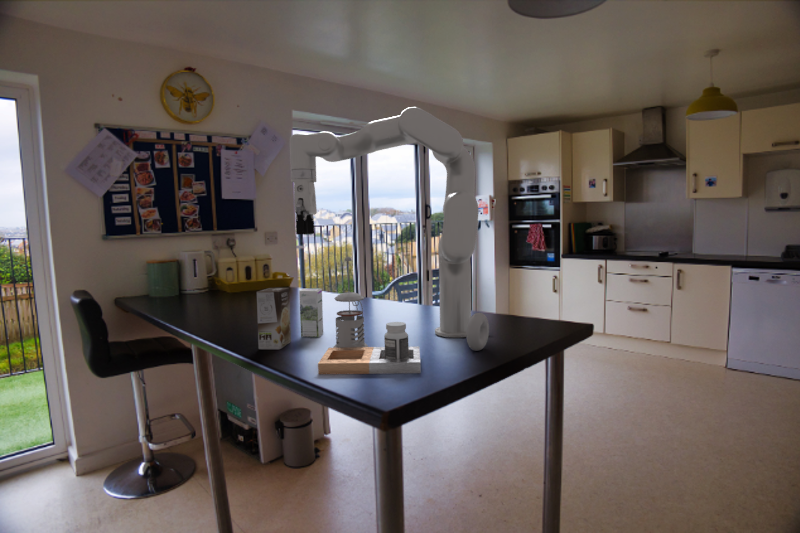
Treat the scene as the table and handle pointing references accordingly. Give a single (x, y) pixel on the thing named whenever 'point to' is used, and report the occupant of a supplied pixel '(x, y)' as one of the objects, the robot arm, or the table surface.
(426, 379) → the table surface
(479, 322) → the donut
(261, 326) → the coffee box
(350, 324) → the french press
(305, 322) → the syrup box
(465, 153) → the robot arm
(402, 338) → the pill bottle
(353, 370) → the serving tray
